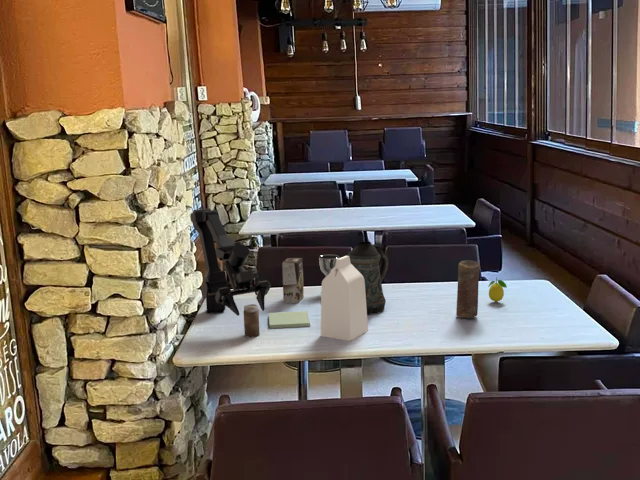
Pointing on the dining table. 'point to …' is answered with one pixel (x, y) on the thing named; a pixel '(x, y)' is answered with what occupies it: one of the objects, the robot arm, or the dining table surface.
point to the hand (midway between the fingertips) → (251, 312)
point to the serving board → (289, 319)
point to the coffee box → (292, 280)
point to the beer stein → (371, 273)
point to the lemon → (496, 290)
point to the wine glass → (327, 263)
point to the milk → (343, 302)
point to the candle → (467, 289)
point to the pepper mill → (251, 320)
